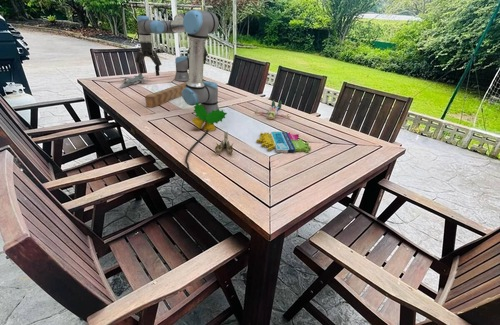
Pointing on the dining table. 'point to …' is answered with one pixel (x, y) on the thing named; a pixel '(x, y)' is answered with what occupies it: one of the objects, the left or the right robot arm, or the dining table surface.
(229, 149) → the jawbone
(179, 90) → the post
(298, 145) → the sign
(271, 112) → the toy
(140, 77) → the airplane
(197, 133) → the dining table surface
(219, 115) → the ornament
